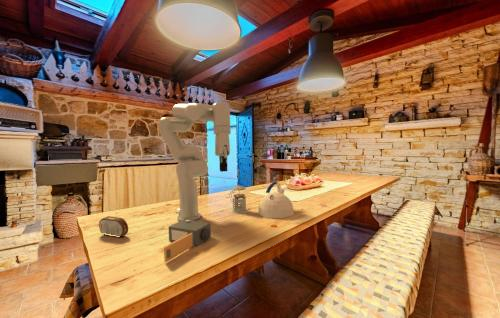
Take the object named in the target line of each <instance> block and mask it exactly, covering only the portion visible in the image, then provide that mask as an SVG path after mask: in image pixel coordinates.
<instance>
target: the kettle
mask: <svg viewBox="0 0 500 318" xmlns="http://www.w3.org/2000/svg"><path fill="white" fill-rule="evenodd" d="M274 186H276V192H274V191H273V192H271V190H272V189H273V187H274ZM281 187H282V186H281V183H279V181H273V182H272V183H270V184H269V186H268V187H267V189H266V191H265V193H267V194H266V195H265V196H263V197H262V198H261V200H260V202H259V204H258V210H257V214H258V215H259V216H261V217H262V218H266V219H273V218H274V220H275V219H276V220H277V219H286V218H290V217H292V216H293V215H294V214H295V212H294V205H293V203H292V201H291V199H290V198H289V197H288V196H286V195H285V189H284V188H281Z"/></svg>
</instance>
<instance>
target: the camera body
mask: <svg viewBox="0 0 500 318" xmlns="http://www.w3.org/2000/svg"><path fill="white" fill-rule="evenodd" d="M211 231H212V230H211V222H208V221H206V222H205V221H200V220H186V219H184V220H182V221H177V222H176V223H173V224H171V225H169V226H168V241H169V242H171V243H172V242H174V241H176V240H178V239H180V238H182V237H184V236H186V235H188V234H190V233H193V247H198V246H199V245H200V244H202V243H204V242H205V241H207V240H208V239H210V238H211V237H212V233H211Z"/></svg>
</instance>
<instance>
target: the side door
mask: <svg viewBox="0 0 500 318" xmlns="http://www.w3.org/2000/svg"><path fill="white" fill-rule="evenodd" d="M193 247H194V246H193V233H190V234H188V235H186V236H184V237H182V238H180V239H178V240H176V241H174V242H172V241H171V243H169V244H167V245H164V247H163V253H164V254H163V257H164V262H165V263H167V262H170V261H171V260H173V259H174V258H176V257H177V256H179V255H181V254H183V253H184V252H185V251H188V250H189V249H191V248H193Z"/></svg>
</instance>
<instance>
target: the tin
mask: <svg viewBox="0 0 500 318" xmlns="http://www.w3.org/2000/svg"><path fill="white" fill-rule="evenodd" d="M98 227H99V232H100V233H101V234H102V233H106V234H111V235H116V236H122V237H124V236H126V235H127V234H128V232H129V225H128V223H127V221H126V219H124V218H122V217H119V216H118V217H117V216H105V217H103V218H101V219H100V220H99V222H98Z"/></svg>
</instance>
